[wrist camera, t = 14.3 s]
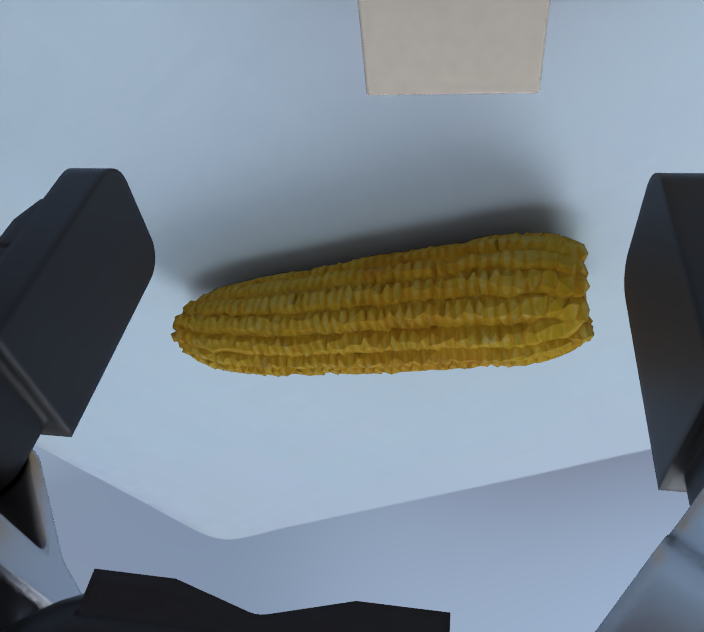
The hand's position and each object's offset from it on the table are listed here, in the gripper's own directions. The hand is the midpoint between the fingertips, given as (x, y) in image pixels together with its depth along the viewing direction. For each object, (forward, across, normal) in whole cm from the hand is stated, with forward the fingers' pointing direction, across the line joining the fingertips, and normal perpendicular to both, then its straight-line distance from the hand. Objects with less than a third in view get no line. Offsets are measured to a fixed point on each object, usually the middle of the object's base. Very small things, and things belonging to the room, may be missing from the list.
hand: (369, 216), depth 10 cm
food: (+16, +3, +16) cm, 23 cm away
